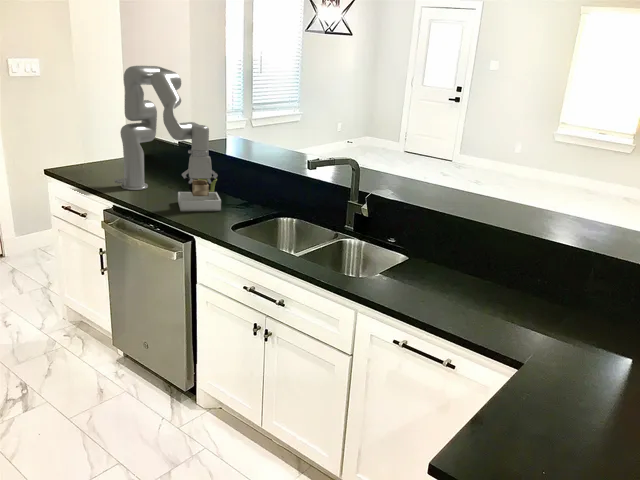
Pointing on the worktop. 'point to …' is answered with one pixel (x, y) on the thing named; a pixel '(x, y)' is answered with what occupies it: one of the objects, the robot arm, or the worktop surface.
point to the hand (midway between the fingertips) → (199, 191)
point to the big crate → (199, 202)
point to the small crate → (200, 188)
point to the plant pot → (211, 184)
